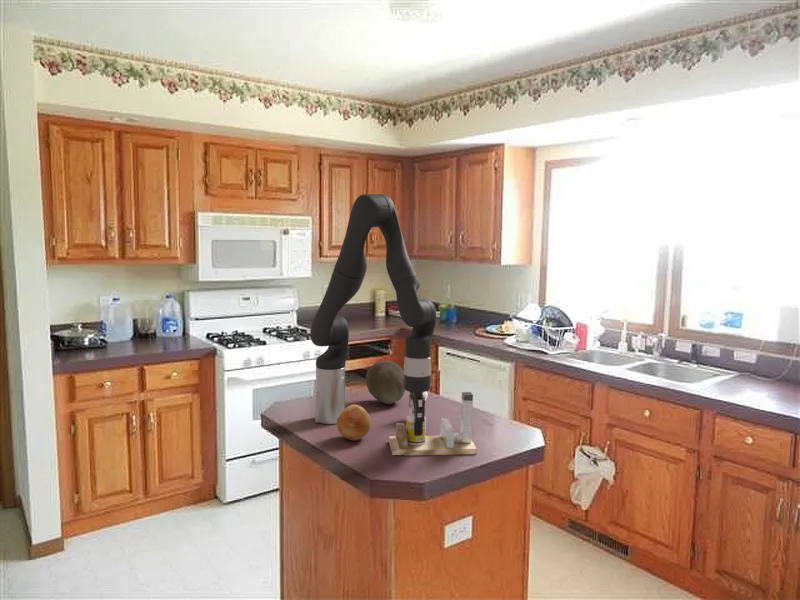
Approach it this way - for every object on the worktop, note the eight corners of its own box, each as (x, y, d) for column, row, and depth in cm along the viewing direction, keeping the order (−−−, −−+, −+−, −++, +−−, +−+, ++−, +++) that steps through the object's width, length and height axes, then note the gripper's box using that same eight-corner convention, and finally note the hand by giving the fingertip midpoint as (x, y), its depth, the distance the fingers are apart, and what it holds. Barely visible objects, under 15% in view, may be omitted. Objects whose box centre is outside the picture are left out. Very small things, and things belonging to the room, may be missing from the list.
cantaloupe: (404, 397, 211) (405, 357, 209) (406, 409, 197) (407, 366, 195) (365, 397, 210) (366, 357, 209) (365, 409, 196) (365, 365, 195)
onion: (332, 435, 169) (332, 402, 168) (363, 431, 173) (364, 399, 172) (342, 446, 160) (342, 411, 159) (375, 442, 164) (376, 408, 163)
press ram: (446, 447, 156) (447, 398, 155) (439, 435, 166) (441, 389, 165) (474, 447, 157) (475, 398, 156) (466, 434, 167) (467, 388, 165)
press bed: (392, 455, 154) (392, 435, 154) (388, 441, 165) (389, 422, 165) (476, 454, 157) (477, 434, 156) (468, 440, 168) (468, 421, 167)
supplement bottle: (409, 438, 164) (410, 404, 163) (427, 440, 162) (428, 406, 161) (403, 444, 159) (404, 409, 158) (422, 447, 157) (423, 412, 156)
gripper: (435, 378, 152) (433, 438, 153) (427, 366, 166) (425, 421, 167) (406, 378, 151) (405, 439, 153) (401, 366, 165) (400, 422, 167)
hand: (416, 430), depth 160 cm, fingers open, 8 cm apart
